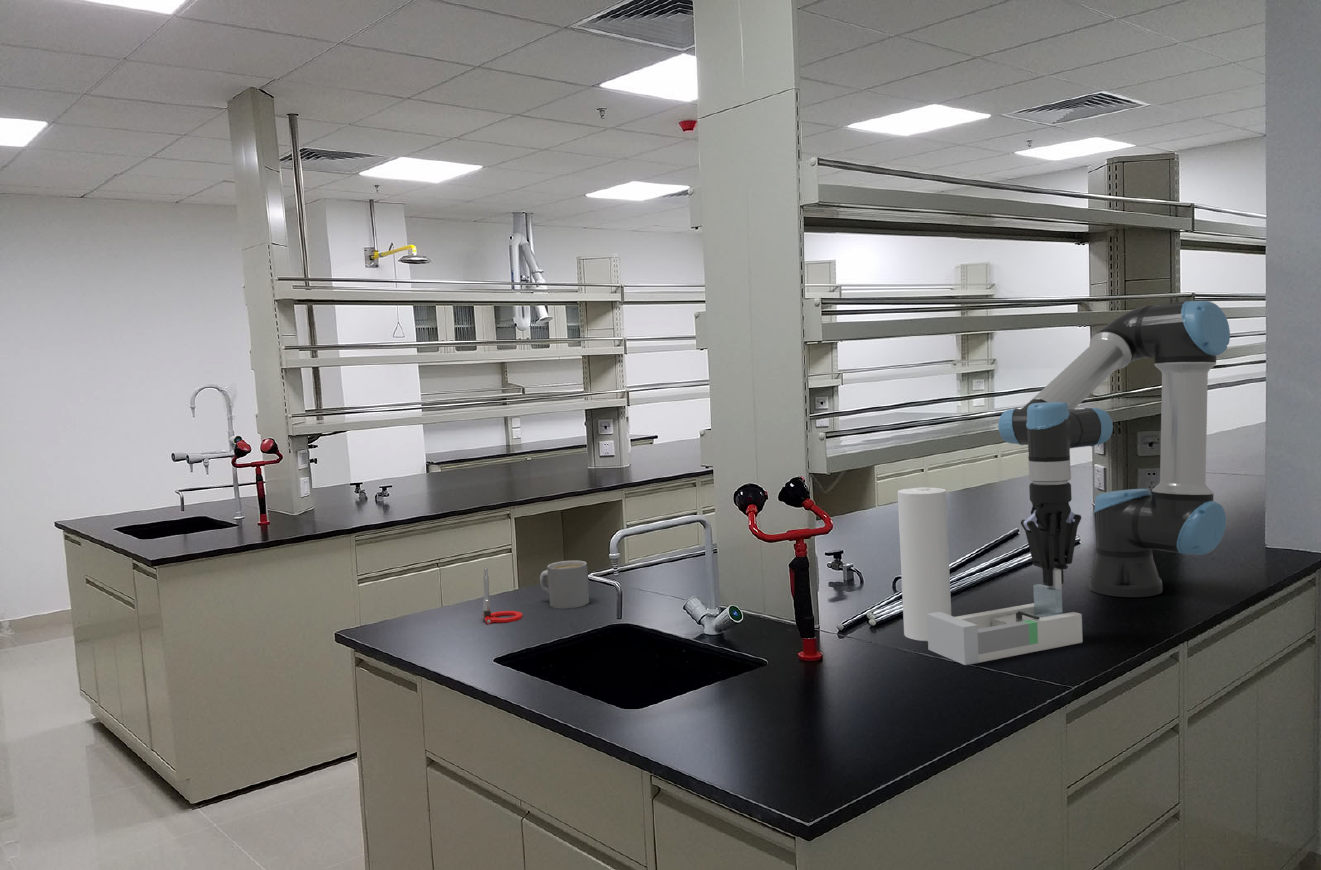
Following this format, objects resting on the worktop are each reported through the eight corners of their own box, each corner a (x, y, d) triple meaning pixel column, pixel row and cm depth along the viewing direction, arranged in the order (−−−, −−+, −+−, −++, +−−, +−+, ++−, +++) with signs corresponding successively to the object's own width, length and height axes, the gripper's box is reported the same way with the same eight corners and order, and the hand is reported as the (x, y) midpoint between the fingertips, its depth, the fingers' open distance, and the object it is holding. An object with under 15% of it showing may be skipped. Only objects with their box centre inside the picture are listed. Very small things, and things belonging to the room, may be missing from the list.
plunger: (1040, 623, 184) (1038, 583, 183) (1071, 634, 176) (1070, 592, 176) (974, 635, 179) (973, 594, 178) (1004, 646, 171) (1002, 603, 170)
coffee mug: (597, 601, 234) (594, 562, 233) (569, 610, 227) (566, 570, 226) (561, 595, 243) (558, 558, 242) (532, 604, 235) (529, 565, 235)
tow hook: (519, 614, 228) (481, 617, 225) (518, 562, 227) (480, 565, 224) (525, 622, 220) (486, 625, 217) (524, 568, 219) (484, 571, 216)
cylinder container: (951, 628, 191) (945, 484, 189) (953, 641, 182) (946, 490, 180) (904, 627, 194) (897, 485, 192) (903, 640, 185) (896, 492, 183)
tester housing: (1041, 628, 187) (1039, 594, 187) (1082, 642, 177) (1081, 606, 176) (928, 649, 178) (926, 613, 178) (965, 665, 168) (963, 627, 167)
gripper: (1062, 477, 185) (1066, 593, 187) (1009, 483, 181) (1013, 602, 182) (1091, 480, 178) (1095, 600, 179) (1036, 486, 174) (1041, 610, 175)
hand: (1054, 601), depth 181 cm, fingers closed
